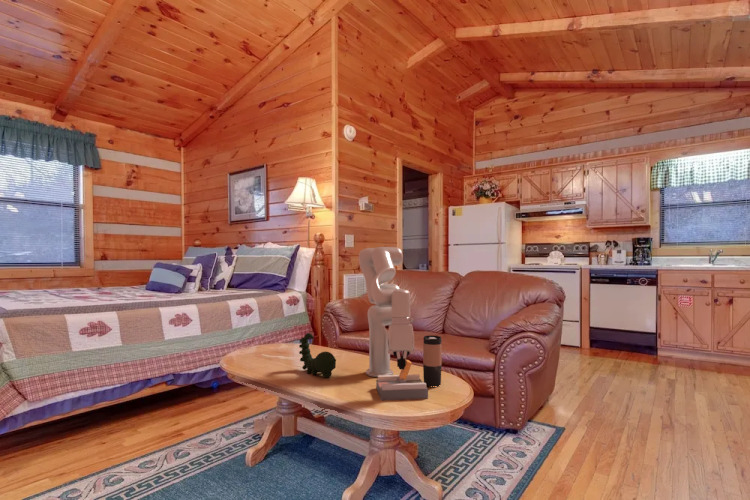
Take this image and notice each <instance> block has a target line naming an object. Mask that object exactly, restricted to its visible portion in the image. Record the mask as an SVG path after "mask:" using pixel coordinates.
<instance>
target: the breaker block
mask: <svg viewBox="0 0 750 500" xmlns="http://www.w3.org/2000/svg"><path fill="white" fill-rule="evenodd" d="M399 375H400V374H393V375H379V376H378V377H377V379H376V380H375V381H376V390H377V393H378V395H379V398H380V401H401V400H403V401H404V400H423V399H424V400H425V399H429V388H428V387H427V386H426V383H424V381H423V380H422V379H421V377H420V374H419V373H417V374H416V373H415V374H408V375H407V377H406V380H405V383H399V382H398V380H397V378H398V376H399Z"/></svg>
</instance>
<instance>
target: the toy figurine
mask: <svg viewBox="0 0 750 500" xmlns="http://www.w3.org/2000/svg"><path fill="white" fill-rule="evenodd" d="M309 339H311V340H314V335H313V334H312V333H310V332H307V333H306V334H305V335H304V336H303V337H302V338H299V343H300V344H299V348H300V349H301V351H298V353H299V355H301V357H300V359H299V362H303V366H302V370H303V371H304V370H305V371H306V374H309V375H310V374H312V375H313V376H316V375H317V373H321V374H322V376H323V378H324V379H327V378H330V377H331V376H332V374H333V372H332V371H334V370H335V369H336V367H337V365H336V364H337V359H336V357H335V356H334V354H332V353H331V352H329V351H321V352H320V353H318V354H317V355H316V356H315V357H313V356H312V354H311V349H310V343H309Z"/></svg>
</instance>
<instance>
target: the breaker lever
mask: <svg viewBox="0 0 750 500" xmlns="http://www.w3.org/2000/svg"><path fill="white" fill-rule="evenodd" d="M411 366H412V362H411V361H410V360H409V359H407V358H406V359H405V367H404V369H400V372H399V374H398V375H399V376H398V378H397V380H398V382H399V383H405V380H406V377H407V375H409V372H410V369H411Z"/></svg>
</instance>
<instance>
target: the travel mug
mask: <svg viewBox="0 0 750 500" xmlns="http://www.w3.org/2000/svg"><path fill="white" fill-rule="evenodd" d="M422 347H423V349H422V350H423V353H422V355H423V357H422V359H423V361H422V362H423V363H422V367H423V368H422V370H423V373H422V374H423V383H426V387H427V386H432V387H431V388H434V387H433V386H439V385H442V363H443V362H442V336H439V335H425V336H423V346H422ZM439 387H440V386H439Z"/></svg>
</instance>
